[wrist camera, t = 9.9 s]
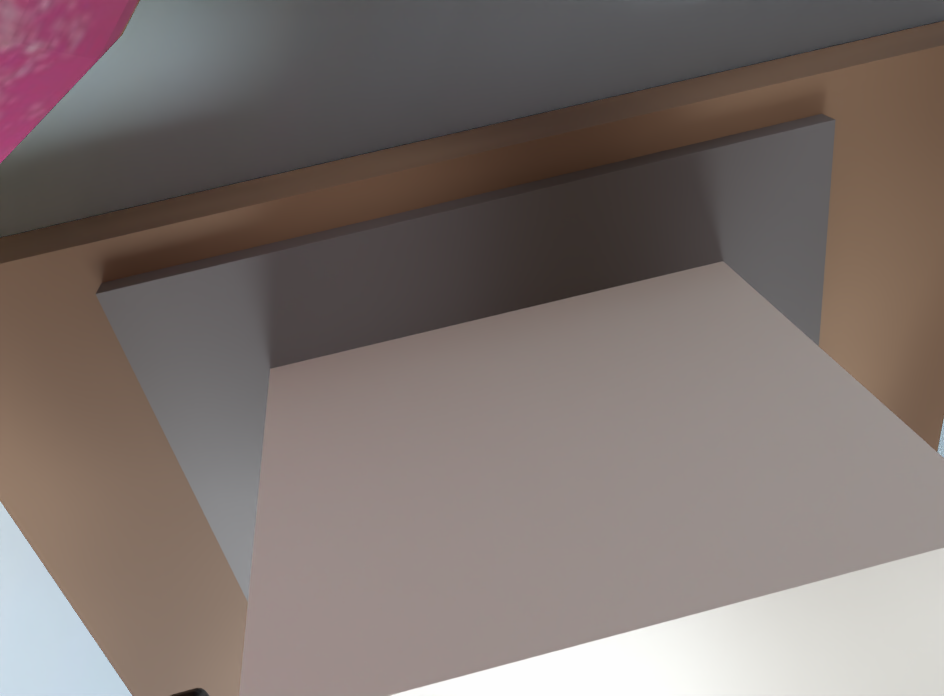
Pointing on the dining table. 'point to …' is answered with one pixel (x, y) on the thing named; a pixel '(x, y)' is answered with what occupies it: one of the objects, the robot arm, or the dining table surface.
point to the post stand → (437, 302)
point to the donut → (49, 55)
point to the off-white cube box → (595, 511)
